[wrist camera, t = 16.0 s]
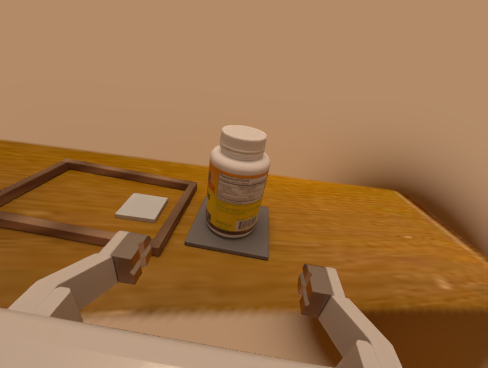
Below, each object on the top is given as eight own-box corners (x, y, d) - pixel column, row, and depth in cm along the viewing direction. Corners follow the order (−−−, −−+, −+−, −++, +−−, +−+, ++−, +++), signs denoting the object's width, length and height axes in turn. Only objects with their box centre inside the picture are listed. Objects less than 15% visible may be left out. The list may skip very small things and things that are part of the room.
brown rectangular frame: (-37, 219, 19) (-43, 210, 19) (68, 165, 29) (66, 158, 29) (158, 256, 19) (158, 248, 18) (196, 188, 29) (196, 182, 29)
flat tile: (116, 221, 22) (115, 213, 22) (134, 199, 26) (133, 192, 25) (155, 226, 23) (154, 219, 22) (168, 204, 26) (167, 197, 26)
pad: (184, 244, 21) (184, 241, 20) (205, 198, 27) (205, 196, 27) (267, 260, 20) (268, 257, 20) (267, 210, 27) (268, 207, 27)
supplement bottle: (216, 202, 26) (225, 118, 21) (259, 214, 26) (280, 130, 21) (195, 231, 22) (201, 132, 17) (248, 247, 21) (271, 149, 16)
